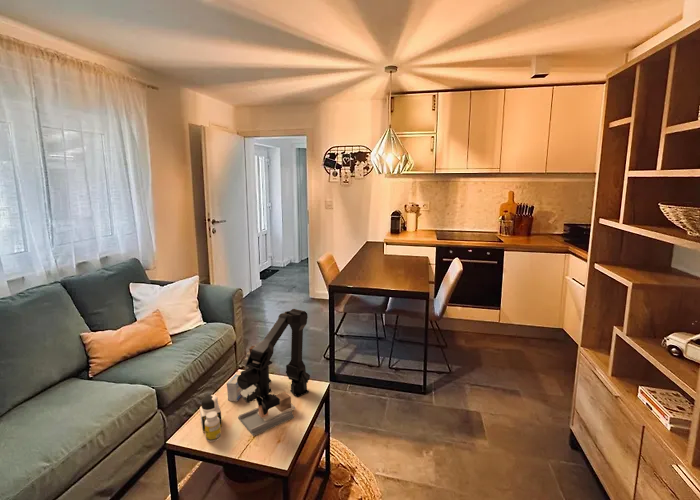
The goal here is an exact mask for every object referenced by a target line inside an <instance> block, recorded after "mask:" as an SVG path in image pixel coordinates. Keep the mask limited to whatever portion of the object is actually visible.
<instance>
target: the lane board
mask: <svg viewBox="0 0 700 500" xmlns="http://www.w3.org/2000/svg"><path fill="white" fill-rule="evenodd" d="M257 412H259V410H258V407H256V408H253V409H252V410H249V411H246V412H243V413H241V414H239V415H237V416H238V417H237V418H238V420H239V421H240V423H241V424H242V425H243V426H244V427H245V428H246V430H247V431H248V432H249V433H250V434H251V435H252V437H255V436H256V435H259V434H261V433H263V432H265V431H266V432H267V431H268V430H270V429H272V428H274V427H276V426H279V425H281V424H283V423H285V422H288V421H289V420H292V419H294V417H295V416H294V414H293V410H291V411H289V412H287V413H285V414H282V415H280V416H278V417H276V418H273V419H271V420H269V421H266V422H265V421H264V420H263V419H262V418H261V417H260V416H259V415H258V413H257Z"/></svg>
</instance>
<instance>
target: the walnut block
mask: <svg viewBox="0 0 700 500" xmlns="http://www.w3.org/2000/svg"><path fill="white" fill-rule="evenodd" d="M275 395H276V396H277V397H278V398H279V399H280V404H279V405H277V406H275V407H276V408H277V409H278V410H279V411H280V412H281V411H284V410H286V409H288V408H291V404H292V397H291V395H290V394H289V393H287V392H286V391H282V392H280V393H277V394H275Z"/></svg>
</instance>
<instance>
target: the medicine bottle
mask: <svg viewBox="0 0 700 500" xmlns="http://www.w3.org/2000/svg"><path fill="white" fill-rule="evenodd" d="M212 411H215V412H217V417H219V419H220V428H222V427H223V423H222V411H221V408H220V404H219V401H218V396H217V395H215V394H209V395H206V396H203V398H202V399H201V406H200V407H199V417H200V424H201V429H202V432H203V433H205V420H206V414H207V413H209V412H212Z"/></svg>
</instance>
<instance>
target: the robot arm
mask: <svg viewBox="0 0 700 500" xmlns="http://www.w3.org/2000/svg"><path fill="white" fill-rule="evenodd" d="M308 316H309V315H308V313H307V311H305V310H301V309H297V308H292V309H291V310H287V311H285V312H283V313H280V314H279V315H278V318H277V320H276V322H274V324H273V326H272V327H271V328H270V330H269V331H268V333H267V335H266V336H265V337H264V339H263V340H262V341H260V342H257V344H255V345H254V346H255V347H254V348H253V349H252V351H251V354H250V356H249V358H248V361H247V363H246V366H247V367H248V369H246V370H245V369H243V370H242V371H240V374H238V375H239V376H238V379H237V383H238V385H239V387H240V388H241V389H243V391H241V395H242V396H241V397H242V399H243V401H245V402H246V404H248V403H252V402H253V401H255V400H256V403H257V405H258V406H260V405H261V406H262V409H263V414H264V415H265V414H267V412H268V410H269V409H270V408H272V407H275V406H277V405H279V404H280V399H279V398H278V397H277V396H276V395H277V394H274V393H273V394H272V393H271V392H272V391H273V390H272V388H271V387H270V383H272V379H271V378H270V371H269V369H270V368H269V366H270V365H272V364H273V361H271V358H272V356H273V354H274V351H275V350H274V347H276V344H277V342H278V341H279V340H280V338H281V336H282V335H283V334H284V332H285V330H286V329H287V328H288V326H289V327H290V329H291V342H290V343H291V344H290V345H291V346H290V347H291V348H290V350H291V352H290V361H289V363H288V364H286V365H285V374H286V376H287V378H288V380H291V383H290V390H289V392H290V393H291V394H293V395H294V396H295V397H297V398H299V397H301V396H303V395H305V394H308V393H310V392H309V389H308V383H309V381H310V379H311V374H309V373H308V372H306V371H307V370H306V365H305V363H304V361H303V346H304V345H303V341H304V339H303V338H304V337H303V336H304V328H305V327H306V326H307V323H308V318H309V317H308ZM253 361H256V362H259V363H258V364H256V363H253ZM258 406H257V407H258Z"/></svg>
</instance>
